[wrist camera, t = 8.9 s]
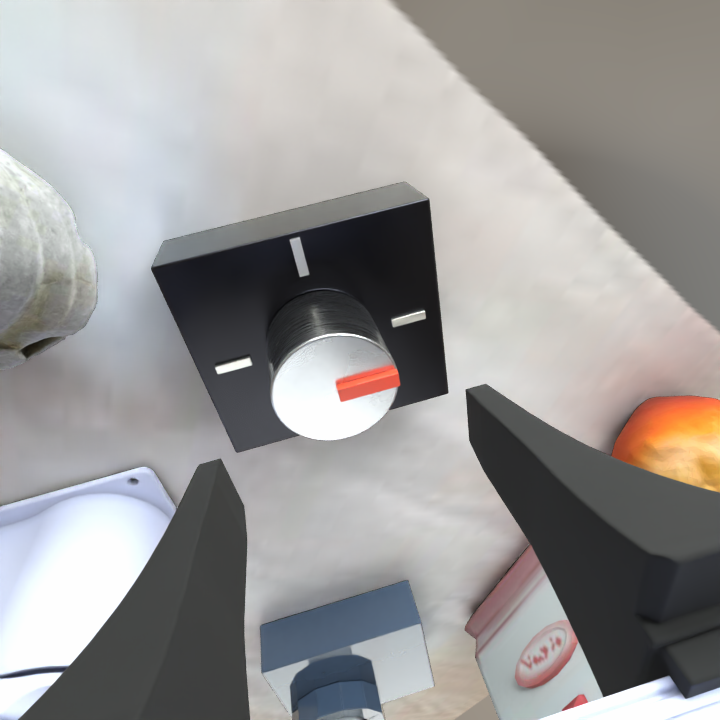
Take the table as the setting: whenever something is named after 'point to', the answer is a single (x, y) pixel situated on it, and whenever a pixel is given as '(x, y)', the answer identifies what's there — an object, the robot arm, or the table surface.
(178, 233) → the table surface
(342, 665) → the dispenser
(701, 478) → the fruit
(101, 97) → the table surface
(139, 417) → the table surface
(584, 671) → the bottle
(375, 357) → the rotary dial knob
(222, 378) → the tap plate
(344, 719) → the white short cylinder
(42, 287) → the seashell
